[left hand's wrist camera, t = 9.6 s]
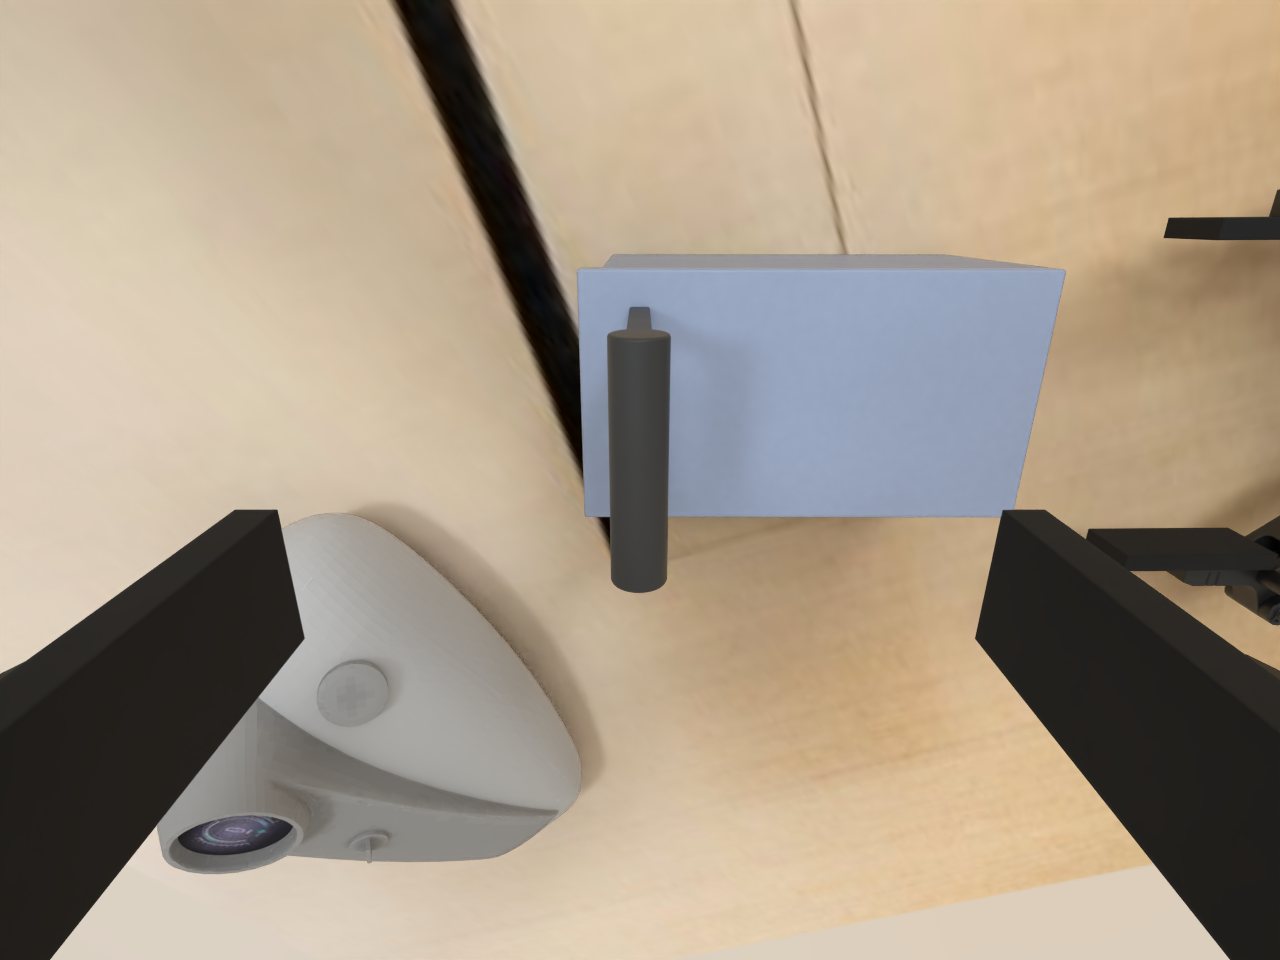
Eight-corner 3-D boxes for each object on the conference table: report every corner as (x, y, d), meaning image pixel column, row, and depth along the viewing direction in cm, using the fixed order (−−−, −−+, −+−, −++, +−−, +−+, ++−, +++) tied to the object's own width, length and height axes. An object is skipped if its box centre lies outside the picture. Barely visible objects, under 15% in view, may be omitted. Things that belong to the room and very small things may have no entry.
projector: (245, 811, 44) (67, 1079, 30) (157, 484, 36) (-143, 650, 22) (585, 813, 44) (561, 1082, 30) (577, 488, 36) (537, 656, 22)
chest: (614, 440, 35) (606, 507, 27) (612, 254, 32) (602, 267, 24) (917, 440, 35) (1000, 507, 27) (946, 254, 32) (1050, 267, 24)
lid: (586, 507, 27) (564, 626, 19) (579, 267, 24) (548, 292, 16) (1000, 508, 27) (1147, 627, 19) (1051, 267, 23) (1255, 292, 16)
